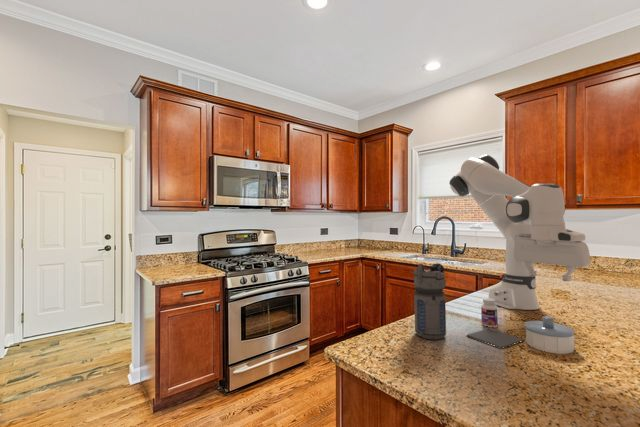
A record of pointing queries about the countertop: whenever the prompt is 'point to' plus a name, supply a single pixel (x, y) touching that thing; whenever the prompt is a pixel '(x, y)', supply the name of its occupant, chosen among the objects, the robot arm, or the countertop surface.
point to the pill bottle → (489, 313)
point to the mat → (495, 338)
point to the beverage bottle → (430, 302)
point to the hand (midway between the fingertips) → (549, 278)
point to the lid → (549, 328)
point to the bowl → (550, 343)
